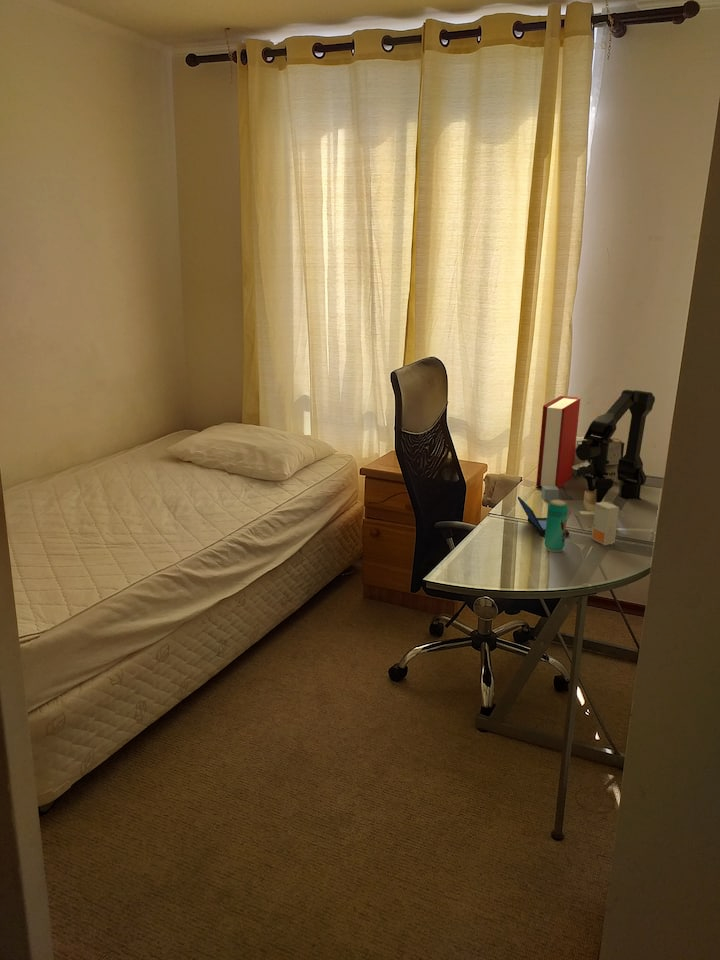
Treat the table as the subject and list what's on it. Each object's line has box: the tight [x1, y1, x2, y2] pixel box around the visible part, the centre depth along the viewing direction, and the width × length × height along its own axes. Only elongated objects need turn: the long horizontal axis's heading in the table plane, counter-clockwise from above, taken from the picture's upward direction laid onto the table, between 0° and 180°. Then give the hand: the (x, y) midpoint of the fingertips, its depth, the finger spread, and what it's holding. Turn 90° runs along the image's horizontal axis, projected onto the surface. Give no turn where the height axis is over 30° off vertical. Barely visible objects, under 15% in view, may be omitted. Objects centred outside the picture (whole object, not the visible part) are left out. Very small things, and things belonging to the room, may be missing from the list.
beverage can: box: [544, 498, 569, 553], centre depth 220 cm, size 6×6×15 cm
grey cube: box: [540, 486, 560, 502], centre depth 270 cm, size 5×5×5 cm
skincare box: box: [591, 502, 620, 546], centre depth 228 cm, size 6×4×12 cm
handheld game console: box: [517, 496, 570, 537], centre depth 239 cm, size 16×13×9 cm
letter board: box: [563, 499, 628, 518], centre depth 261 cm, size 18×18×1 cm
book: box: [535, 395, 581, 490], centre depth 292 cm, size 27×8×32 cm, turn 152°
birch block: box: [583, 490, 606, 511], centre depth 260 cm, size 6×6×6 cm
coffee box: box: [604, 437, 625, 483], centre depth 298 cm, size 9×6×16 cm
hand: (594, 499), depth 260 cm, fingers open, 9 cm apart
